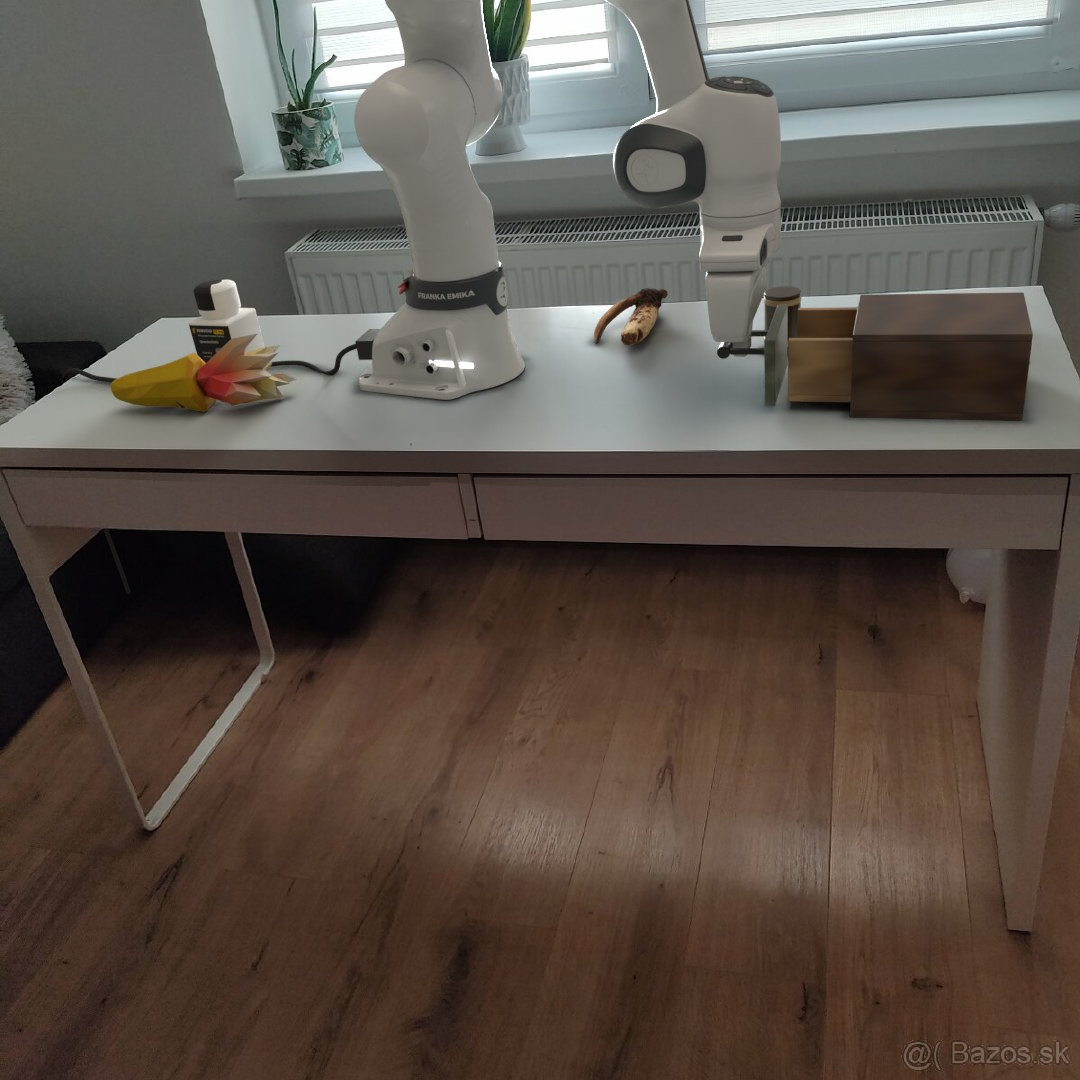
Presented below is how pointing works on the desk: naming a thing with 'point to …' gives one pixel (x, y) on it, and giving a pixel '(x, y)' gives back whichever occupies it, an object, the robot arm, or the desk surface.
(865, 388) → the cabinet
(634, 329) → the bone fish hook
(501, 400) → the desk surface
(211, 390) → the torch
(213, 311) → the medicine bottle
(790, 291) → the banded brown cylinder
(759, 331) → the drawer
